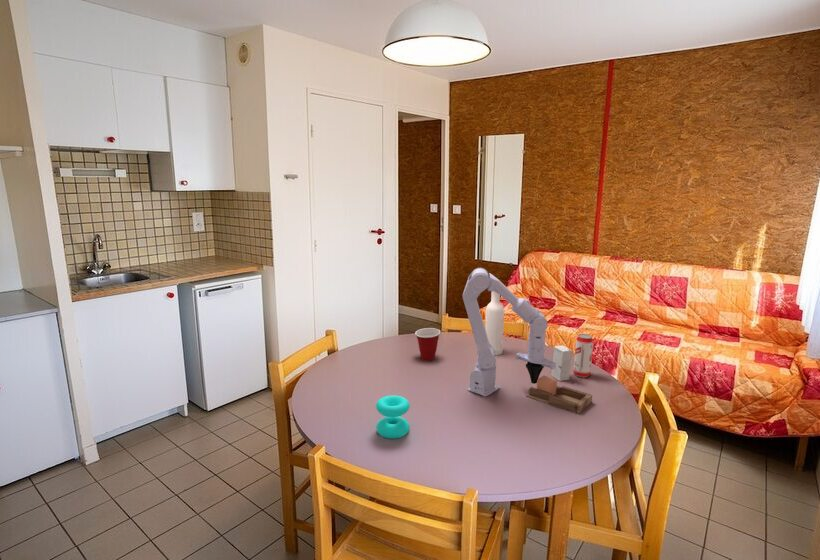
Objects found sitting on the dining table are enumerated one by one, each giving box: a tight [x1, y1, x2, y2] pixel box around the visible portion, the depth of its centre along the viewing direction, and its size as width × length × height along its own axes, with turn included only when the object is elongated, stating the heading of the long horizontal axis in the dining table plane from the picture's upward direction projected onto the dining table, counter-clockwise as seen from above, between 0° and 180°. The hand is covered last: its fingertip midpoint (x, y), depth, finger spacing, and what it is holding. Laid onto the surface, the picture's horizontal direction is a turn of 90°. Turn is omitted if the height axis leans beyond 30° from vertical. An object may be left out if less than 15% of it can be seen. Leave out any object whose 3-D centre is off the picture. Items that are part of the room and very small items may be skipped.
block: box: [536, 375, 558, 396], centre depth 166 cm, size 5×5×6 cm
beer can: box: [573, 333, 594, 379], centre depth 183 cm, size 6×6×16 cm
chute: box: [525, 385, 593, 415], centre depth 164 cm, size 11×19×3 cm, turn 48°
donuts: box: [375, 394, 410, 439], centre depth 142 cm, size 10×10×10 cm
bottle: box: [484, 291, 505, 356], centre depth 205 cm, size 8×8×30 cm
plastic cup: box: [414, 327, 441, 361], centre depth 200 cm, size 11×11×12 cm
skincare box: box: [551, 344, 573, 382], centre depth 181 cm, size 6×4×12 cm
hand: (534, 382), depth 169 cm, fingers closed
